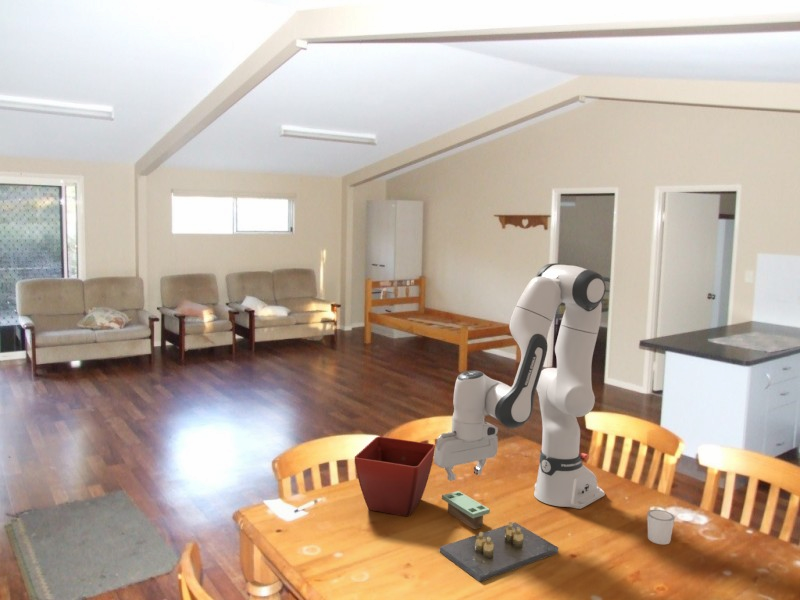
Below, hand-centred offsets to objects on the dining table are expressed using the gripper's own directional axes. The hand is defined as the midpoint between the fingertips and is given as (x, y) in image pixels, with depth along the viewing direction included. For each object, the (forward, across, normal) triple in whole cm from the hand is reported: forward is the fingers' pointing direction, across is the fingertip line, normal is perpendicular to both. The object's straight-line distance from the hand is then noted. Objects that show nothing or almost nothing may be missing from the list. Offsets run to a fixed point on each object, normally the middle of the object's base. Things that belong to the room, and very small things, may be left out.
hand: (464, 476), depth 187 cm
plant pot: (+14, -11, +18) cm, 25 cm away
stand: (+13, +1, 0) cm, 13 cm away
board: (+9, +1, 0) cm, 9 cm away
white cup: (+12, +39, -36) cm, 54 cm away
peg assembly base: (+13, -3, -19) cm, 23 cm away
